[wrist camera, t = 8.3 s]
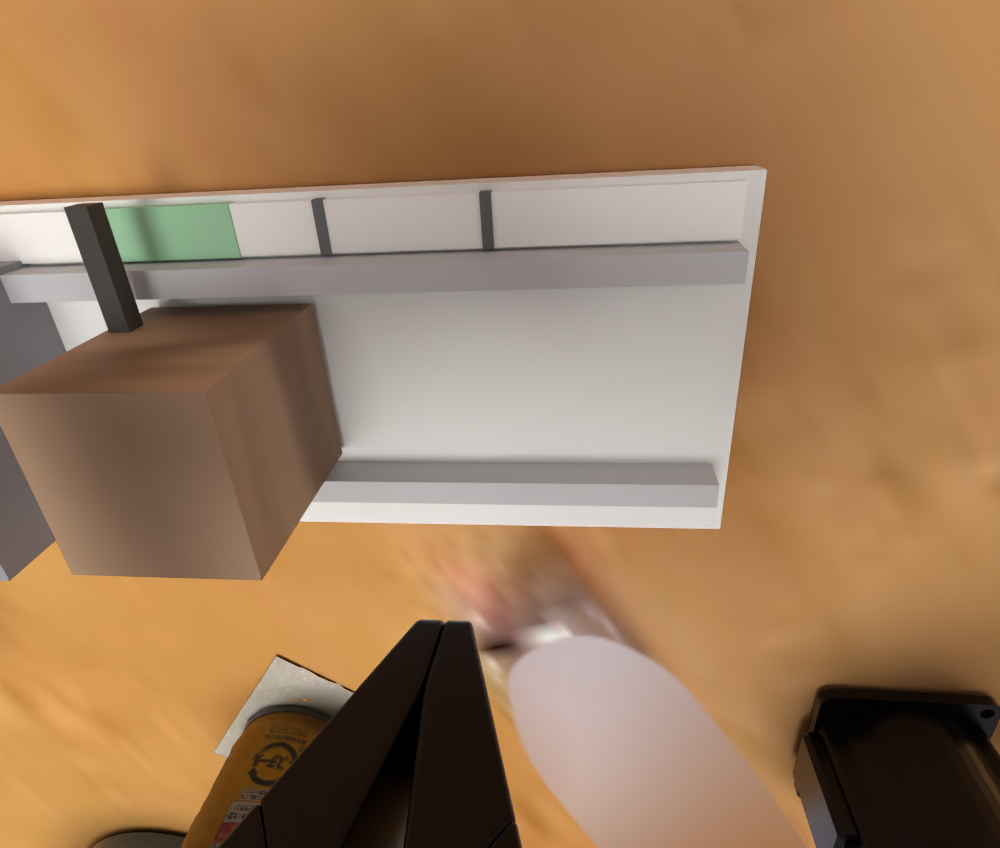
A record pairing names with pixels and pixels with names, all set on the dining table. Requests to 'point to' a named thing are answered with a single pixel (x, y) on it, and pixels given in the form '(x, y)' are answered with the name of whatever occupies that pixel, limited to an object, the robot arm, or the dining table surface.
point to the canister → (141, 841)
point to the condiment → (264, 745)
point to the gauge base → (447, 334)
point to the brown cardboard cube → (174, 430)
